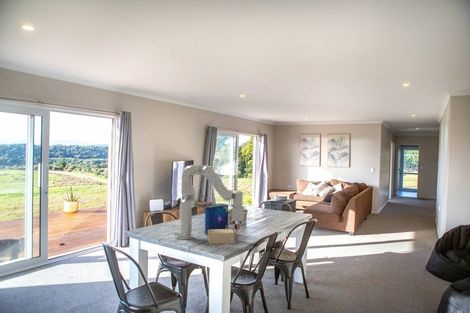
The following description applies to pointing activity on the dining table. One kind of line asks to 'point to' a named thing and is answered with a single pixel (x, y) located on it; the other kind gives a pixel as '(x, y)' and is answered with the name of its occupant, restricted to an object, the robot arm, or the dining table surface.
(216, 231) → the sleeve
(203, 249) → the dining table surface
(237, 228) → the grey stepped block
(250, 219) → the dining table surface
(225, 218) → the book
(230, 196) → the robot arm
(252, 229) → the dining table surface
